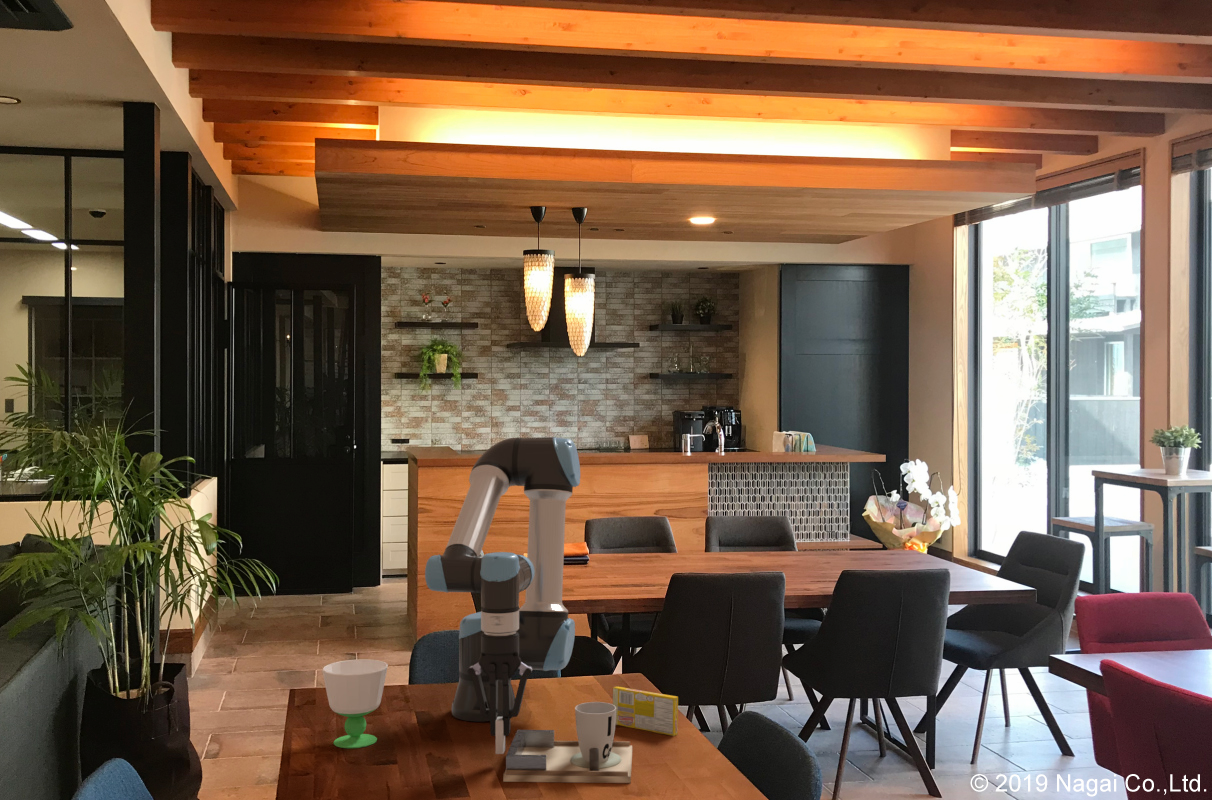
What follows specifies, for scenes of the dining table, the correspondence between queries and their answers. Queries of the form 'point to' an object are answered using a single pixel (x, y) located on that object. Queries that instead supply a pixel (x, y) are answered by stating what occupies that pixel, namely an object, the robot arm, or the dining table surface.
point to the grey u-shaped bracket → (529, 740)
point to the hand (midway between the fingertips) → (500, 751)
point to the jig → (577, 765)
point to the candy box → (646, 710)
